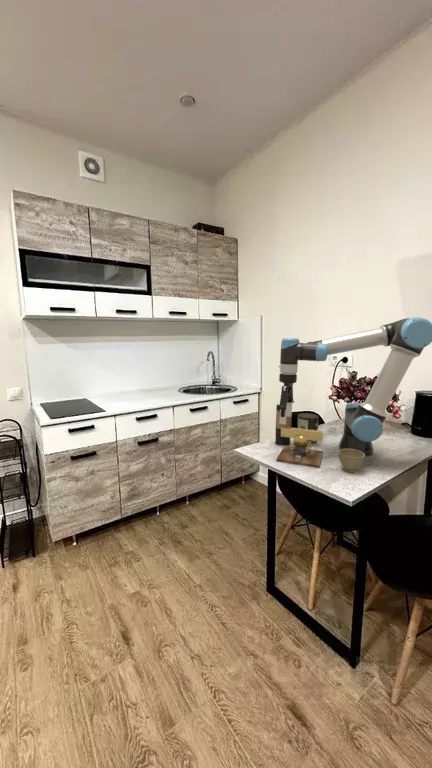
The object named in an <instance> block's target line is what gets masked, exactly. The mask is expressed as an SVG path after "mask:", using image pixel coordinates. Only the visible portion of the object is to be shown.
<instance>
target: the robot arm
mask: <svg viewBox="0 0 432 768" xmlns="http://www.w3.org/2000/svg"><path fill="white" fill-rule="evenodd" d="M431 343H432V322H431V321H430V320H428V319H427V318H423V317H419V316H418V317H417V316H413V317H410V318H409V317H408V318H402V319H400V320H396V321H394V322H390V323H387V324H382V325H380V326H379V327H378V328H373V329H369V330H363V331H358V332H353V333H350V334H345V335H340V336H334V337H329V338H324V339H319V340H315V341H314V340H313V341H309V342H300V339H299V338H297V337H283V338H282V339H281V344H280V358H279V360H280V361H279V362H280V364H279V365H278V367H279V376H278V377H279V379H278V380H279V382H280V383H283V385H282V386H281V392H280V393H281V394H280V401H279V404H278V405H279V407H278V409H280V420H279V424H285V425H286V416H287V417H291V415H293V403H294V404H295V400H294V387H293V386H294V384H295V383H297V380H298V374H297V373H298V366H299V365H298V364H299V363H298V361H310V362H325V361H327V358H328V356H332V355H336V354H337V355H338V354H342V353H346V352H353V351H357V350H363V349H367V348H373V347H379V346H382V347H385V348H386V347H390V349H391V351H390V352H389V354H388V356H387V358H386V360H385V362H384V364H383V366H382V368H381V369H380V371H379V373H378V375H377V378H376V379H375V381H374V383H373V385H372V387H371V389H370V391H369V393H368V395H367V397H366V399H365V400H364V401H363V402H360V403H359V402H347V403H346V404H345V407H344V411H345V412H344V424H343V425H344V426H343V433H342V436H341V439H340V441H339V443H338V451H339V450H341V449H355V450H358V451H361V452H363V453H364V454H365V457H370V456H372V455H373V454H374V446H373V442H374V441H376V440H377V439H379V438H380V437H381V435H382V434H383V431H384V426H383V424H384V422H385V421H386V419H387V417H388V415H387V413H386V410H387V408H388V407H389V405H390V402H392V399H393V398H394V396H395V393H396V392H397V389H398V387H399V386H400V384H401V382H402V380H403V378H404V377H405V375H406V372H407V371H408V369H409V367H410V366H411V364H412V362H413V360H414V359H415V358H417V357H420V356H421V354H422V352H423V351H424V349H425V348H426V347H428V346H429V345H430V344H431Z"/></svg>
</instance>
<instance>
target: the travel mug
mask: <svg viewBox="0 0 432 768" xmlns="http://www.w3.org/2000/svg"><path fill="white" fill-rule="evenodd" d="M279 405H280V404H276V410H275V411H276V412H275V445H277V446H280V447H284V446H291V438H289V437H282V436H281V427H282V426H283V427H291V428H292V415H293V414H292V415H291V417H287V416H286V425H285V424H279V420H280V409H278V407H279Z"/></svg>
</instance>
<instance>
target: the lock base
mask: <svg viewBox="0 0 432 768" xmlns="http://www.w3.org/2000/svg"><path fill="white" fill-rule="evenodd" d="M323 455H324V451H323V450H320V449H311V448H309V452H306V446H297V445H294V450H291V445H288V446H282V449H281V450H280V452H279V454H278V456H277V457H276V459H275V460H276V461H275V462H279V463H283V464H290V465H296V466H301V467H302V466H304V467H309V468H316V469H320V467H321V463H322V458H323Z"/></svg>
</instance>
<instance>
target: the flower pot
mask: <svg viewBox="0 0 432 768" xmlns="http://www.w3.org/2000/svg"><path fill="white" fill-rule="evenodd" d="M338 457H339V458H338V459H339V461H340V464H341V466H342V468H343V470H345V471H347V472H351V473H354V472H357V471H358V470H359V469H360V467H361V466H362V464H363V463H364V460H365V458H366V456H365V454H364V453H363V452H361V451H358V450H355V449H341V450H339V449H338Z"/></svg>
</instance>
